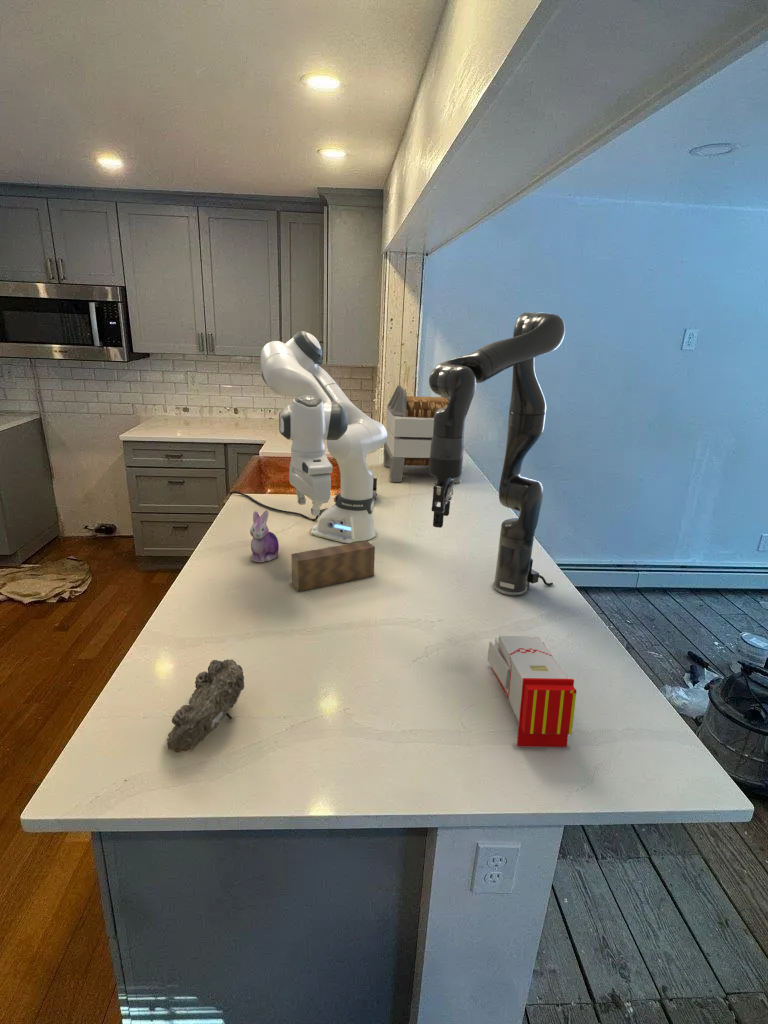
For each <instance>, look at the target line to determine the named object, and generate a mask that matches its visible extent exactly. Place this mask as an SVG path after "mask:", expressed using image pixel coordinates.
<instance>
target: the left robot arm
mask: <svg viewBox="0 0 768 1024" xmlns="http://www.w3.org/2000/svg"><path fill="white" fill-rule="evenodd" d="M322 358H323V348H322V346H321V343H320V341H319V340H318V339H317V337H315V336H314V334H311V333H309V332H308V331H306V330H301V331H298V332H297V333H295V334H293V337H292V338H290V339H289V340H287V341H286V342H283V341H279V340H272V341H269V342H267V343H266V344H264V346H263V347H262V348H261V351H260V369H261V377H262V381H263V382H264V383H265V385H266V386H267V387H268V388H269V389H270V390H271V391H272V392H273V393H275V394H276V395H279V396H282V397H290V398H293V400H292V403H291V404H289V405H285V406H284V407H283V408H282V409H281V410H280V411H279V412H278V423H279V424H278V427H279V428H278V429H279V431H278V432H279V434H281V436H283V437H284V438H285V439H287V440H288V441H292V442H291V446H290V449H291V450H290V457H291V458H290V462H289V469H288V471H289V472H288V481H289V484H290V485H291V486H292V487H294V488H295V493H296V497H297V503H298V505H300V506H304V505H306V504H307V499H306V497H307V498H308V499H309V500H311V503H312V508H310V514H311V515H312V516H313V517H315V518H310V517H309V516H307V515H305V514H303V513H300V512H295V511H289V510H285V509H284V510H283V509H279V508H276V507H271V506H269V505H266V504H263V503H262V502H259V500H258V501H257V500H256V499H254V498H253V497H252V496H250V495H248V494H245V493H243V492H240V491H238V490H232V491H230V492H229V495H232V494H238V495H241V496H243V497H246V498H248V499H249V500H250V501H252V502H254V503H255V504H257V505H259V506H261V507H263V508H266V509H269V510H272V511H275V512H279V513H285V514H290V515H296V516H300V517H303V518H305V520H306V519H307V520H308V521H312V522H315V521H317V520H318V521H317V523H315V524H314V525H313V526H312V528H311V530H310V533H311V536H315V537H319V538H323V539H326V540H330V541H336V542H339V543H343V544H351V543H357V542H362V541H368V540H372V539H373V538H375V537H376V535H377V532H376V528H375V523H374V513H373V512H374V509H375V499H374V496H373V478H374V473H373V471H372V470H371V469H369V467H368V464H367V458H366V457H367V455H370V454H372V453H375V452H377V451H378V450H380V449H382V448H383V447H384V444H385V443H386V440H387V431H386V427H385V425H383V424H382V422H380V421H377V420H375V419H373V418H371V417H370V416H368V415H367V414H366V413H364V412H363V411H362V410H361V409H360V408H358V407H357V406H356V405H355V404H354V403H353V402H352V401H351V400H350V399H349V397H348V396H347V395H346V394H345V393H344V391H343V390H342V388H341V387H340V386H339V385H338V383H337V382H336V381H335V379H333V378H332V376H331V375H330V374H329V373H328V372H327V371H326V370H325V369H324V368H322V367H321V366H322V365H323V360H322ZM325 440H326V444H325ZM326 448H327V451H328V453H329V455H330V456H331V457H332V458H333V459H334V460H335V461H336V464H337V466H338V470H339V476H340V480H339V481H340V484H339V485H340V488H339V489H340V490H339V491H338V492H337V494H336V495H335V496H334V497H333V502H334V504H333V505H331V506H329V507H326V508H322V509H321V507H322V505H323V504H328V503H329V502H330V499H331V493H332V492H331V489H332V477H331V474H332V473H333V464H332V463H331V462H330V460H329V459H328V456H327V454H326ZM305 496H306V497H305Z"/></svg>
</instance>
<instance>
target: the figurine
mask: <svg viewBox="0 0 768 1024" xmlns="http://www.w3.org/2000/svg"><path fill="white" fill-rule="evenodd" d="M268 519H269V510H267V509H266V510H264V511H263V512H262V514H261V515H259V512H258V511H257V510H255V511H254V512H253V513H252V522H253V523H252V525H251V527H250V530H249V534H250V536H251V538H252V539H251V541H250V549H251V553H252V554H251V561H252V562H256V563H264V562H270V561H272V560H275V559H276V558H277V557H278V555H279V548H280V546H279V540H278V538H277V536H276V534H275V533H273V532H272V531H270V528H269V527H268V525H267V522H268Z"/></svg>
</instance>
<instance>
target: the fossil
mask: <svg viewBox="0 0 768 1024" xmlns="http://www.w3.org/2000/svg"><path fill="white" fill-rule="evenodd" d="M243 670H244V669H243V667H242V665H240V664H237V662H236V661H235V660H234V659H232V658H231V659H227V658H226V659H224V660H223V661H222V660H217V659H212V660H211V661H210V663H209V665H208V666H207V671H201V672H199V673H198V674H197V675H196V676H195V680H194V684H195V685H194V687H195V689H194V690H193V693H192V694H191V697H190V698H189V700H188V704H184V705H182V706H181V707H180V709H177V710H176V711H175V713H174V715H173V716H172V718H171V723H172V724H173V727H172V730H171V731H170V732H168V734H167V738H166V741H167V742H166V745H167V749H168V750H169V751H173V752H174V753H176V754H178V753H182V752H188V751H189V752H192V751H193V750H195V748H196V747H197V746H199V744H200V743H201V742H203V741H204V740H205V739H206V738H207V737H208V736H209V735H210V734H211V733H212V732H214V730H215V729H217V727H218V726H219V724H220V722H221V721H222V720H223V719H224V718H225V716H226V717H227V719H229V720H233V717H232V715H230V714H229V710H230V709H231V708H234V706H235V704H236V703H237V702H238V699H239V697H240V695H241V693H242V691H243V690H245V689H244V688H245V675H244V671H243Z"/></svg>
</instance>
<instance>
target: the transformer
mask: <svg viewBox="0 0 768 1024" xmlns="http://www.w3.org/2000/svg"><path fill="white" fill-rule="evenodd" d="M407 394H408V393H407V390H406V389H404V388H403V387H402V385H399V384H398V385H397V386H396V388H395V390H394V392H393V394H392V395H391V398H390V400H389V402H388V404H387V405H386V413H385V414H386V415H385V423H386V427H385V429H386V431H387V440H386V443H385V444H384V445H383V466H384V467H388V468H389V475H388V476H389V477H388V478H389V480H390V482H391V483H402V482H403V475H404V469H405V466H406V467H407V466H411V467H412V466H413V467H415V466H416V467H417V466H418V467H429V463H430V449H431V441H432V436H433V424H434V414H435V412H436V410H437V409H439V408H444V407H447V406H448V403H449V401H450V397H445V396H415V395H414V396H413V395H412V396H411V395H407ZM455 483H456V484H459V483H461V475H460V476H459V477H457V478H454V484H455Z"/></svg>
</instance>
